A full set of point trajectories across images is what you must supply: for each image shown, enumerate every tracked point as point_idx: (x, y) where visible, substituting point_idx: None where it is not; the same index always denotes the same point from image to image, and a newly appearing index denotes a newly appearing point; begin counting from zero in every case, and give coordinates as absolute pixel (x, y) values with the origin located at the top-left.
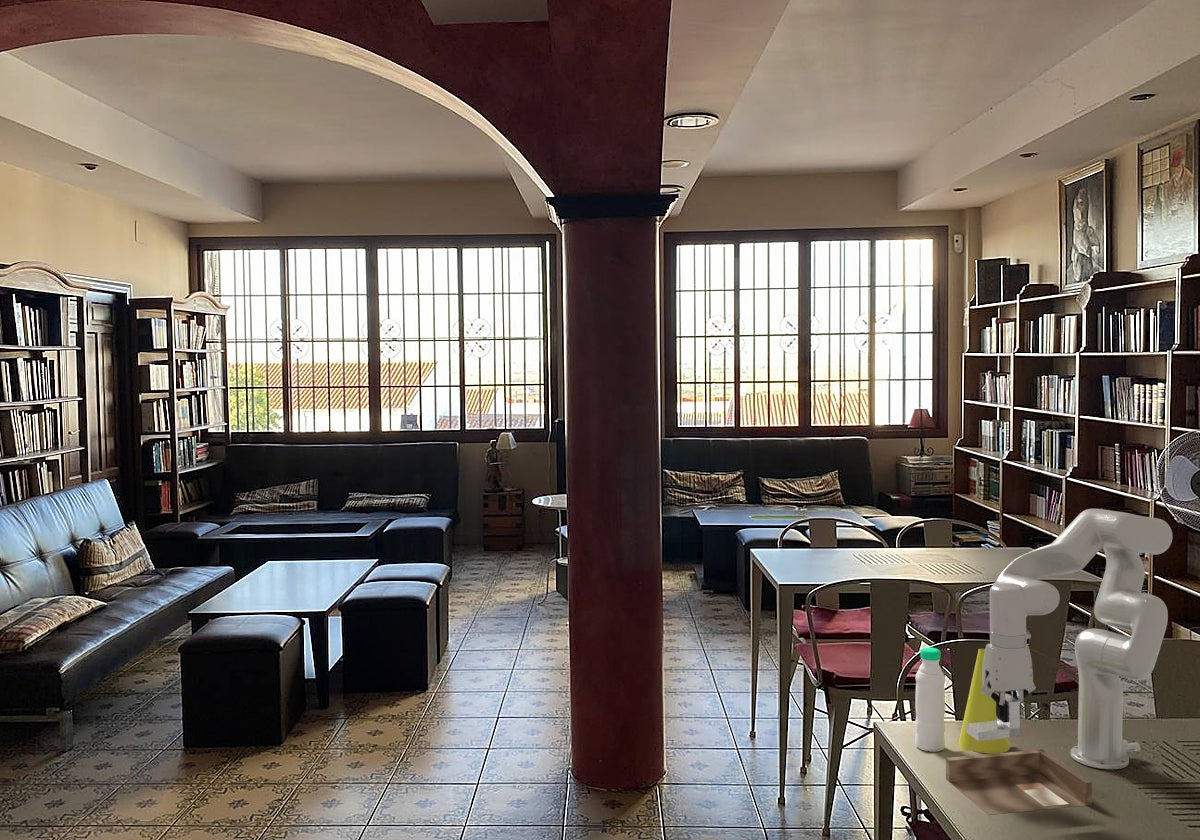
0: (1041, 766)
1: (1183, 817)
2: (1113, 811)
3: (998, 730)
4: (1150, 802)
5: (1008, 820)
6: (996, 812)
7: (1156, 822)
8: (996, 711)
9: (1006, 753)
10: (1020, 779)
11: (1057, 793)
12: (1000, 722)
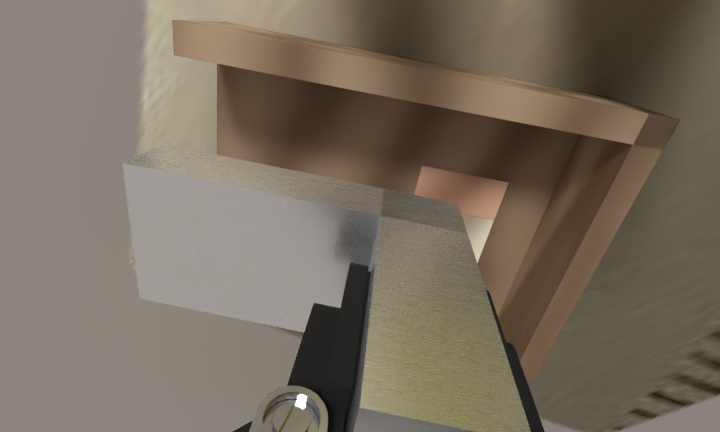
0: (595, 141)
1: (654, 408)
2: None
3: (275, 325)
4: (680, 346)
5: None
6: None
7: (575, 401)
8: (307, 329)
9: (483, 91)
10: (476, 134)
11: (492, 253)
12: (370, 257)
